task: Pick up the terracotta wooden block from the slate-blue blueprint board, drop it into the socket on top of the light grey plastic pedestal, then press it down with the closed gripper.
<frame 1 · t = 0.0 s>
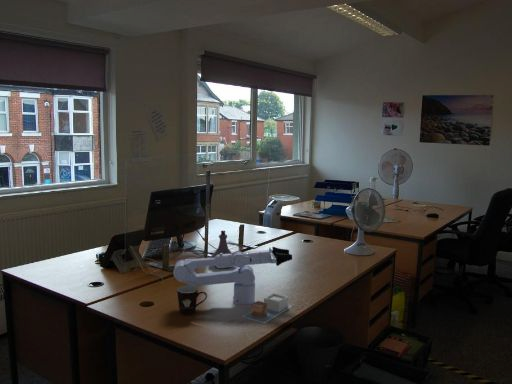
hand: (290, 254, 203), 22 cm above the table, tool horizontal, fingers open, 7 cm apart
blueprint board: (267, 313, 193), on the table
terracotta block: (259, 315, 189), point 1 cm above the table, touching blueprint board
coffee mug: (190, 313, 192), on the table
flask: (222, 266, 255), on the table
socket pedestal: (275, 307, 197), resting on blueprint board
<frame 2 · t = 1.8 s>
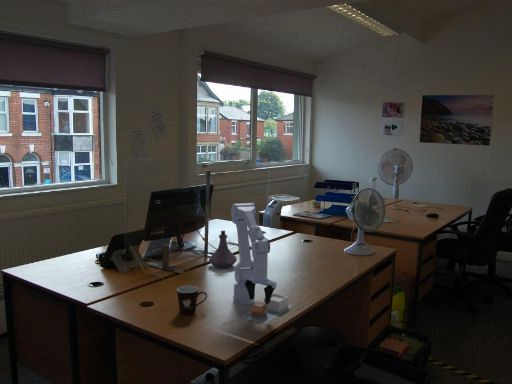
hand: (259, 301, 188), 7 cm above the table, tool pointing down, fingers open, 7 cm apart
nothing on the table moved.
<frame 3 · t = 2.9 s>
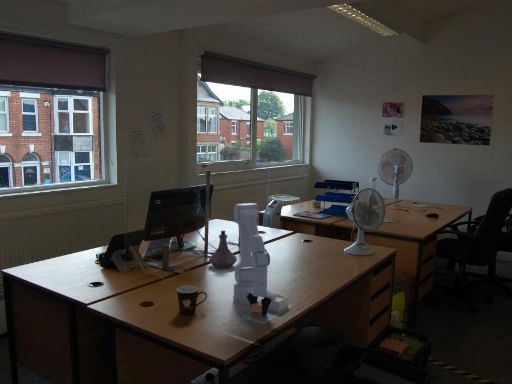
hand: (259, 313, 189), 2 cm above the table, tool pointing down, fingers closed on terracotta block, 4 cm apart
terracotta block: (259, 315, 189), point 1 cm above the table, touching blueprint board, gripper
everything else where it was.
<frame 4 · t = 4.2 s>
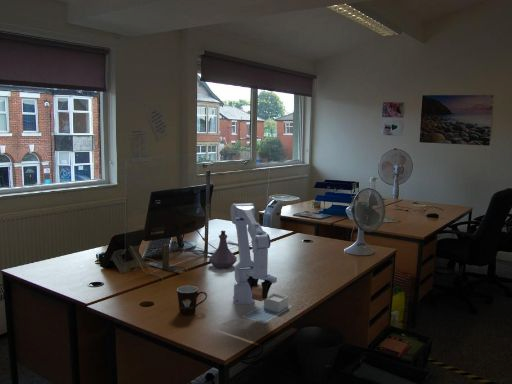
hand: (259, 296, 188), 9 cm above the table, tool pointing down, fingers closed on terracotta block, 4 cm apart
terracotta block: (259, 298, 188), point 8 cm above the table, touching gripper
everything else where it was.
when the fingers open (7 cm above the table, at t = 5.8 s): terracotta block drops 1 cm, resting on socket pedestal.
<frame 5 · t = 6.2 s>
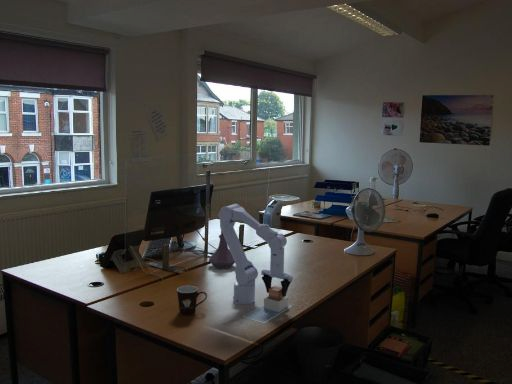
hand: (276, 294, 196), 7 cm above the table, tool pointing down, fingers open, 7 cm apart
terracotta block: (275, 299, 197), point 4 cm above the table, touching socket pedestal
everything else where it was.
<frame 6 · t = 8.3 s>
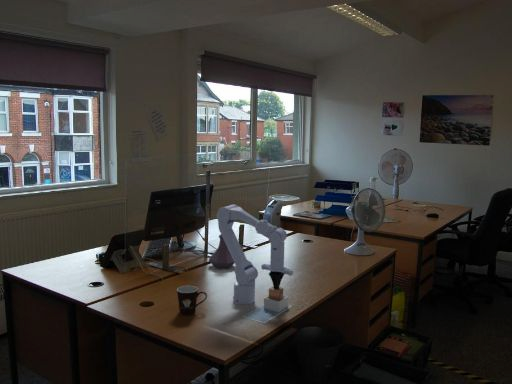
hand: (276, 288, 196), 9 cm above the table, tool pointing down, fingers closed, pressing on terracotta block
terracotta block: (275, 299, 197), point 4 cm above the table, touching gripper, socket pedestal
everything else where it was.
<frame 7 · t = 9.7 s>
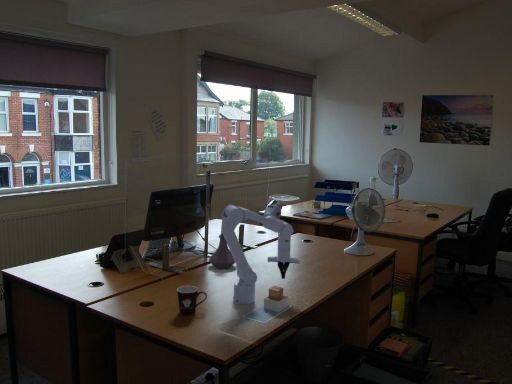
hand: (283, 278, 209), 9 cm above the table, tool pointing down, fingers closed
terracotta block: (275, 299, 197), point 4 cm above the table, touching socket pedestal
everything else where it was.
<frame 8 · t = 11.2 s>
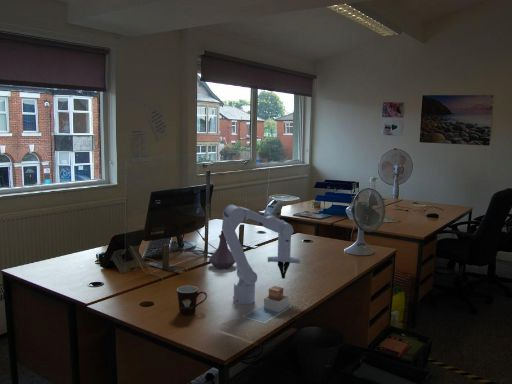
hand: (283, 277, 209), 9 cm above the table, tool pointing down, fingers closed
nothing on the table moved.
at the end: terracotta block 0.3 cm off-centre on the socket pedestal, point 3.5 cm above the socket pedestal's base; terracotta block tilted 0°; the gripper is holding nothing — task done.
